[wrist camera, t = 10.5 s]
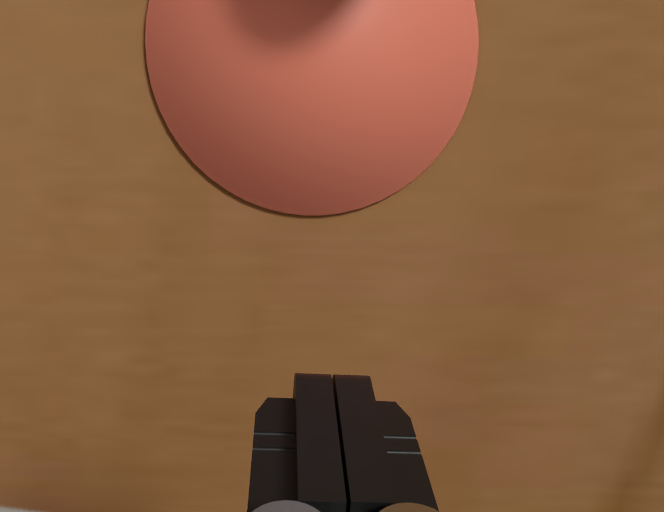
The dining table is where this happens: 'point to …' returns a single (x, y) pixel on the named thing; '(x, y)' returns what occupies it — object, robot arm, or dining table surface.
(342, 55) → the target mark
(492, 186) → the dining table surface
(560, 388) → the dining table surface
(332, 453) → the robot arm
